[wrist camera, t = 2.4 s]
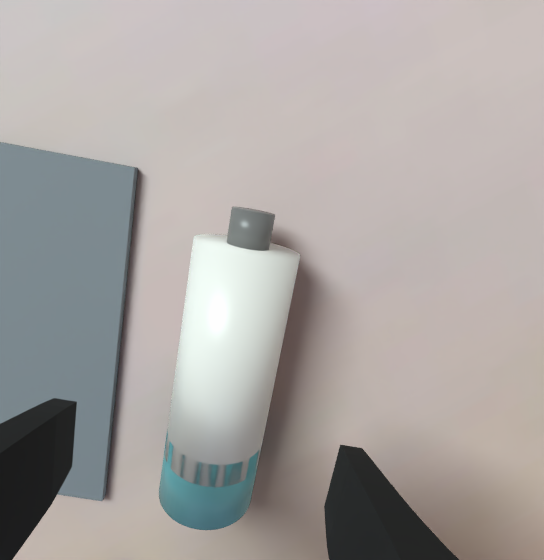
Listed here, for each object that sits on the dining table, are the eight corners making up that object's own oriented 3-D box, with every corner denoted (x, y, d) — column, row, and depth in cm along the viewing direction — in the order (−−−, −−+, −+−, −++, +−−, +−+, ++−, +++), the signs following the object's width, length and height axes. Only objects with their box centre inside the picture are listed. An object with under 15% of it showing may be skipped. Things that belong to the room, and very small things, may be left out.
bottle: (303, 216, 16) (311, 226, 13) (253, 466, 19) (247, 537, 15) (208, 199, 16) (187, 203, 12) (172, 452, 19) (145, 521, 15)
